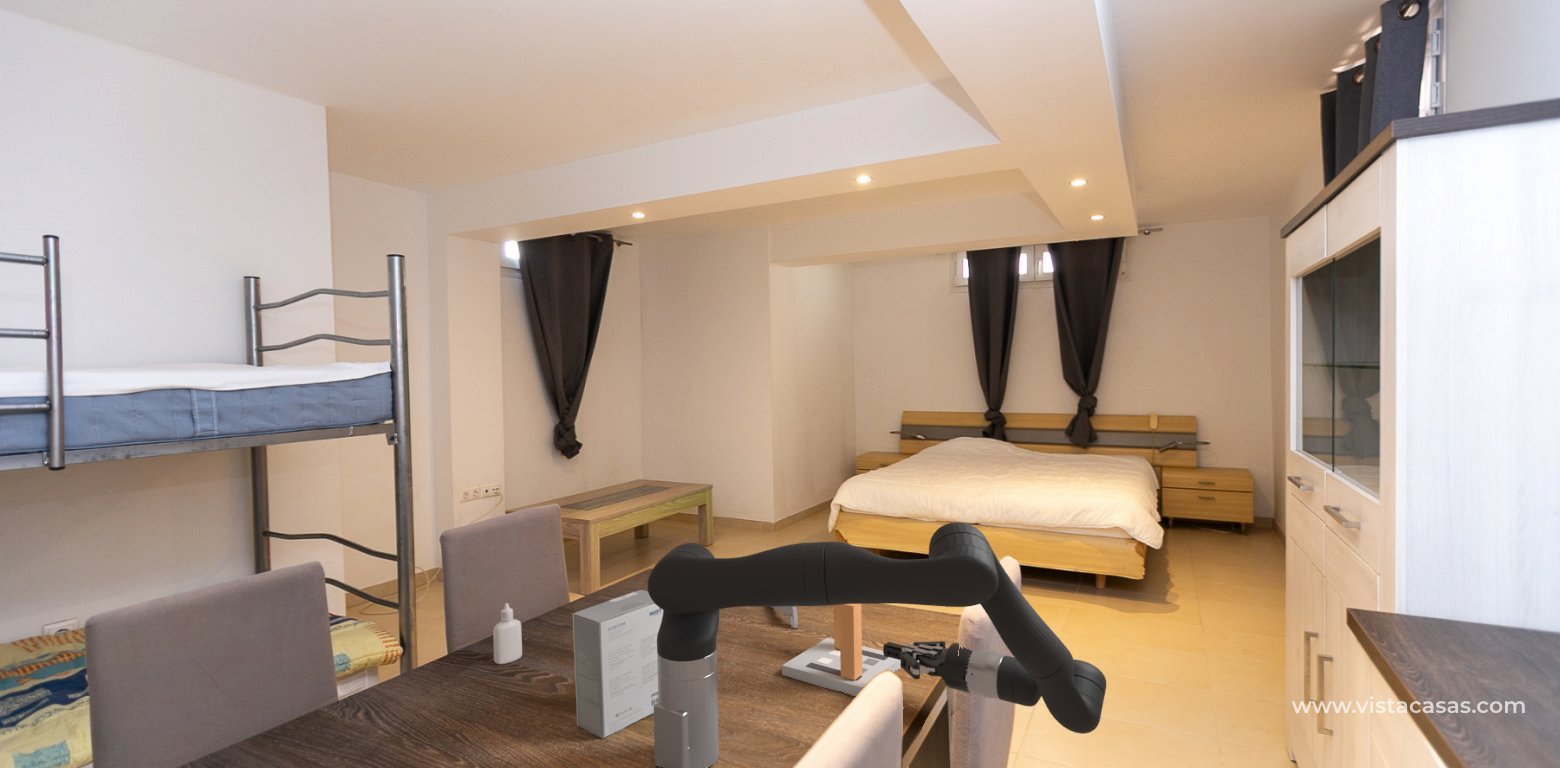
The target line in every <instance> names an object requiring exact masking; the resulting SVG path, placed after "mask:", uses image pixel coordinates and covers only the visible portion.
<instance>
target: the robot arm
mask: <svg viewBox="0 0 1560 768" xmlns="http://www.w3.org/2000/svg"><path fill="white" fill-rule="evenodd" d="M1006 571H1007V570H1005V568H1004V567H1003V565H1002V563H1001V562H1000V560H999V559H998V556H996V554H995V551H994V550H993V548H992V547H991V545H990V542H989V540H988V539H987V538H986V536H985V535H984V533H983V532H982V531H981V530H979V528H977V527H975V526H973V525H971V524H968V523H966V522H958V521H955V522H950V523H946V524H944V525H942V526H940V527H938V528H937V529H936V530H935V532H934V533H933V534H932V535H931V538H930V541H929V545H928V558H922V559H921V558H920V559H919V558H918V559H915V558H914V559H897V558H891V557H886V556H883V555H880V554H877V553H874V552H872V551H868V550H866V549H863V548H861V547H858V546H856V545H853V544H851V543H846V542H841V541H816V542H799V543H792V544H786V545H782V546H778V547H774V548H770V549H767V550H763V551H760V552H756V553H752V554H749V555H744V556H738V557H726V558H724V557H723V558H719V557H718V558H717V557H715V556H714V554H713V553H712V552H711V551H710V550H709V549H708V548H707V547H705V546H704V545H702V544H699V543H695V542H686V543H682V544H679V545H677V546H676V547H674V548H672V549H671V550H670V551H669V552H667V554H665V555H664V556H663V557H662V558H660V560H659V561H658V562H656V563H655V565H654V566H653V568H652V570H651V571H650V573H649V575H648V579H647V591H648V593H649V595H650V597H651V599H652V601H653V602H654V603H655V604H656V605H657V606H658V607H659V608H661V609H663V617H662V622H661V625H660V628H659V631H658V635H657V665H658V703H656V704H655V705H654V713H653V728H654V729H653V730H654V731H653V732H654V733H653V734H654V735H653V736H654V739H653V740H654V766H657V767H659V768H661V767H663V768H706V767H709V766H711V765H712V764H713V765H715V764H716V763H717V761H718V760H719V755H720V752H719V749H720V747H719V745H720V744H719V722H718V721H719V714H718V713H719V709H718V673H717V672H718V670H717V669H718V665H717V664H718V663H717V662H718V661H717V658H718V657H717V637H718V631H719V626H720V610H721V609H729V608H731V609H732V608H739V607H741V608H742V607H759V608H761V607H766V608H767V607H768V608H769V607H770V608H772V607H774V606H796V607H824V606H834V605H841V604H861V605H866V604H867V605H872V604H873V605H874V604H876V605H877V604H878V605H879V604H880V605H881V604H883V605H884V604H898V605H899V604H900V605H901V604H902V605H918V606H919V605H920V606H932V607H948V608H949V607H950V608H966V607H972V606H973V607H974V606H978V605H981V607H982V608H983V610H984V612H985V613H986V614H987V616H988V618H989V620H990V621H991V623H992V625H993V626H994V628H995V630H996V631H997V633H998V635H999V636H1000V638H1001V640H1002V642H1003V643H1004V645H1005V647H1007V649H1008V650H1009V652H1010V654H1012V656H1009V655H1007V654H1002V653H999V652H997V651H994V650H990V649H986V648H984V649H985V650H980V651H971V650H969V649H966V648H964V647H963V649H962V648H961V647H960V649H959V642H953V643H952V644H950V645H949V646H948V648H946V641H944V640H940V641H937V640H935V641H934V640H933V641H914V642H913V643H912V644H909V643H908V644H906V645H903V644H899V643H895V642H891V641H887V642H886V643H885V644H883V646H882V647H883V648H882V651H883V654H884V656H886V657H890V658H894V659H898V660H901V663H900V667H901V668H902V669H903V670H904V671H905V672H906V673H907V674H908V675H909V676H910V677H911V678H913V679H914V680H919V679H921V675H922V674H927V675H928V676H930V677H940V678H942V679H943V682H944V683H945V685H946V687H947V688H949V689H953V690H956V691H961V692H963V693H964V692H965V693H966V694H967V693H968V694H971V695H976V696H979V697H983V698H988V699H994V700H1001V701H1004V702H1008V703H1012V704H1015V705H1020V706H1024V707H1034V706H1036V705H1037V704H1038V703H1039V702H1040V699H1041V698H1042V700H1043V702H1044V704H1045V707H1046V708H1047V710H1048V711H1049V713H1050V715H1051V716H1052V717H1053V718H1054V719H1055V721H1056V722H1058V724H1059V725H1061V726H1062V727H1063V728H1065V729H1066V730H1068V731H1070V732H1073V733H1076V734H1089V733H1092V732H1093V731H1095V730H1096V729H1097V728H1098V726H1099V725H1100V722H1101V718H1102V717H1101V716H1102V711H1103V705H1104V702H1105V696H1106V691H1107V678H1106V676H1105V674H1104V673H1103V672H1102V671H1101V670H1100V669H1099V668H1098V667H1096V665H1094V664H1092V663H1090V662H1088V661H1084V660H1081V659H1074V657H1073V654H1072V653H1071V651H1070V649H1068V647H1067V646H1066V645H1065V643H1063V642H1062V639H1060V638H1059V636H1058V635H1057V634H1056V633H1055V632H1054V630H1052V629H1051V628H1050V626H1049V625H1048V624H1047V623H1046V622H1045V621H1044V620H1043V619H1042V617H1041V616H1040V615H1039V613H1037V611H1036V610H1035V609H1034V607H1033V606H1032V605H1031V603H1030V602H1029V601H1028V600H1027V599H1026V598H1025V596H1024V595H1023V594H1022V592H1021V591H1020V590H1019V589H1018V587H1017V586H1016V584H1015V582H1014V581H1013V580H1012V579H1011V577H1010V576H1009V574H1008V573H1007V572H1006ZM958 650H959V656H958ZM901 668H900V669H901ZM713 765H712V766H713ZM712 766H711V767H712ZM709 768H710V767H709Z"/></svg>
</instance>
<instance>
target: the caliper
mask: <svg viewBox="0 0 1560 768" xmlns="http://www.w3.org/2000/svg"><path fill="white" fill-rule="evenodd" d="M771 608H772V609H775V610H778V611H781V612H782V614H783V616H787V617H788V620H789V621H788V622H789V626H790V625H793V627H792V629H793V628H794V629H798V627H799V621H798V620H799V619H798V617H799V615H798V609H797V608H798V606H774V607H771Z"/></svg>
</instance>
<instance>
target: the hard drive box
mask: <svg viewBox="0 0 1560 768" xmlns="http://www.w3.org/2000/svg"><path fill="white" fill-rule="evenodd" d="M662 617H663V609H661V608H659V607H658V606H657V605H656V604H655V603H654V602H653V601H652V599H651V597H650V595H649V593H648V590H644V589H638V590H635V591H632V592H630V593H627V594H624V595H621V596H619V597H616V598H612V599H610V600H606V601H603V602H601V603H599V604H596V605H593V606H591V607H588V608H584V609H582V610H578V611H576V612H574V613H572V632H573V637H572V638H573V658H574V677H575V678H574V680H575V681H574V682H575V697H576V700H575V701H576V703H575V705H576V724H577V727H579V728H581V729H583V730H585V731H586V732H589V733H590V734H592V735H595V736H596V737H598V738H600V739H605V738H606V737H609V736H610V735H612V734H615V733H617V732H619V731H621V730H623V729H625V728H627V727H628V726H631V725H633V724H635V723H636V722H638V721H641V720H642V719H644V718H646V717H648V716H650V715H654V705H655V704H656V703H658V665H657V635H658V631H659V628H660V625H661V622H662Z"/></svg>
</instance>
